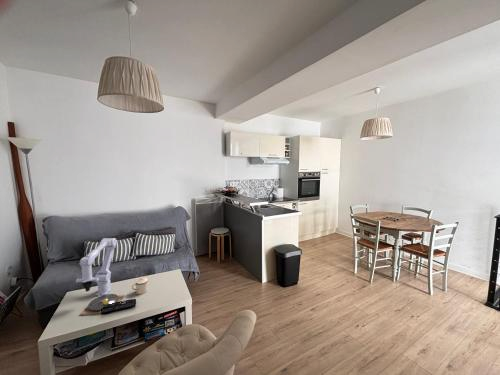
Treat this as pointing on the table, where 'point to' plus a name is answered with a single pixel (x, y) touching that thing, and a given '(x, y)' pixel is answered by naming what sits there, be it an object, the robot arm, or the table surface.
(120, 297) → the base plate
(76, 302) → the table surface
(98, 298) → the handwheel
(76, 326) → the table surface
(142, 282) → the teacup with lid
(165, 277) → the table surface
